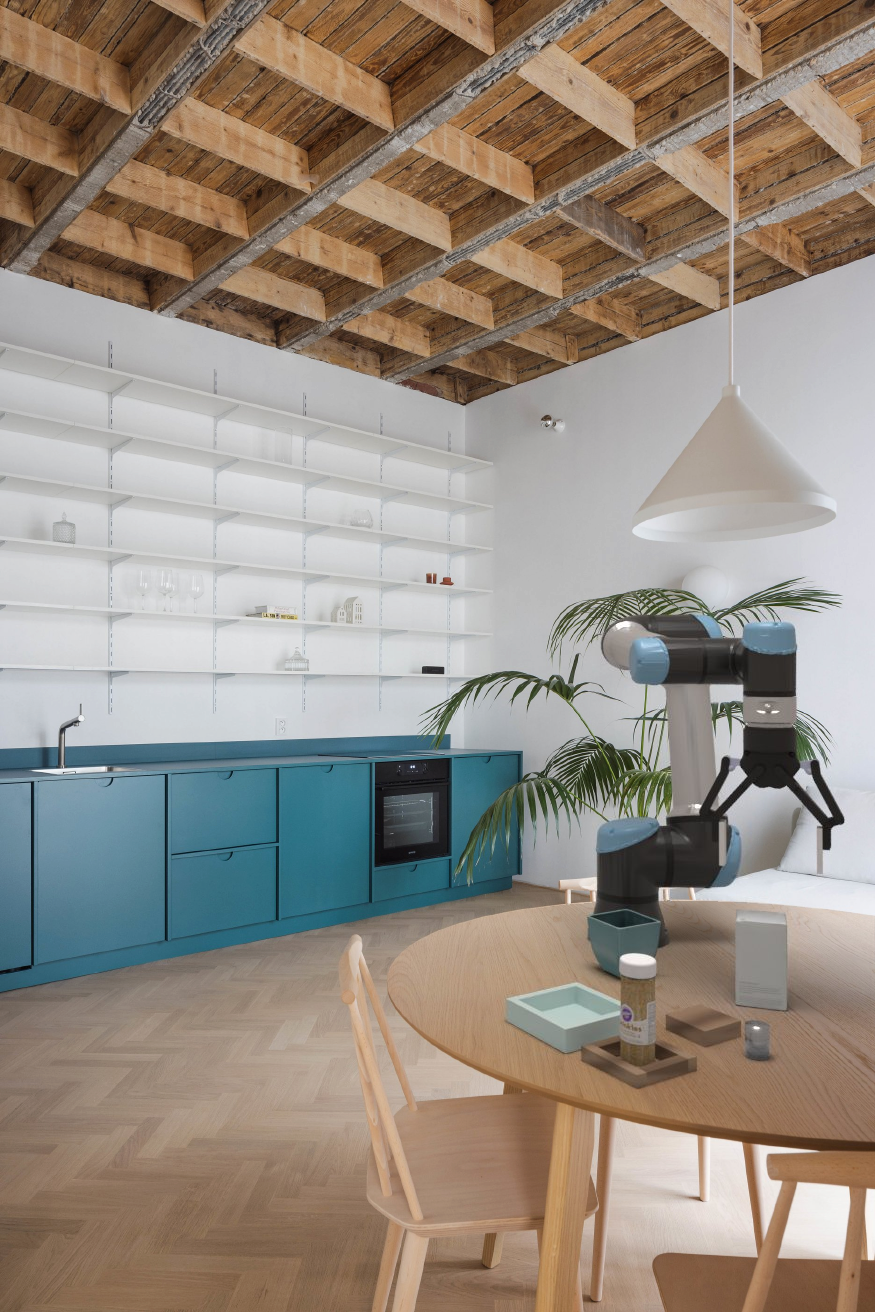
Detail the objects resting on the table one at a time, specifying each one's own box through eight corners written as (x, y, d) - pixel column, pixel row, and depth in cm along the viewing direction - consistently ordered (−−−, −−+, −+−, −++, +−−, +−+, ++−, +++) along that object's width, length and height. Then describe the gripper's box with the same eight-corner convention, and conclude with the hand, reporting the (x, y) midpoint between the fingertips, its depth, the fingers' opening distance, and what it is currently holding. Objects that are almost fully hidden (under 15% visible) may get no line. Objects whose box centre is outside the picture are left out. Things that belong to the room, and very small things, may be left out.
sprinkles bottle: (612, 1066, 113) (612, 958, 113) (630, 1055, 116) (630, 949, 117) (646, 1077, 110) (645, 966, 110) (663, 1065, 113) (662, 957, 114)
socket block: (581, 1060, 115) (581, 1045, 115) (639, 1043, 120) (638, 1029, 120) (637, 1091, 106) (637, 1075, 106) (696, 1071, 112) (696, 1056, 112)
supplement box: (788, 1012, 131) (787, 924, 131) (734, 1005, 134) (733, 920, 134) (787, 995, 138) (786, 912, 138) (736, 989, 141) (735, 907, 141)
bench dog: (740, 1054, 116) (739, 1023, 117) (755, 1049, 118) (755, 1018, 118) (759, 1063, 114) (759, 1031, 114) (774, 1058, 115) (774, 1026, 116)
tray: (506, 1020, 128) (506, 998, 128) (576, 1003, 135) (576, 982, 135) (565, 1053, 117) (565, 1029, 117) (639, 1032, 124) (639, 1010, 124)
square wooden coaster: (665, 1032, 125) (665, 1014, 125) (701, 1022, 128) (700, 1004, 128) (705, 1050, 119) (705, 1031, 119) (741, 1039, 122) (741, 1020, 123)
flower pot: (619, 985, 142) (619, 928, 142) (585, 969, 150) (585, 915, 150) (662, 977, 146) (662, 921, 147) (627, 961, 154) (627, 908, 154)
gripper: (680, 724, 137) (680, 865, 136) (862, 729, 127) (863, 881, 126) (687, 722, 143) (688, 856, 143) (861, 726, 133) (862, 870, 133)
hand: (770, 868), depth 135 cm, fingers open, 13 cm apart
